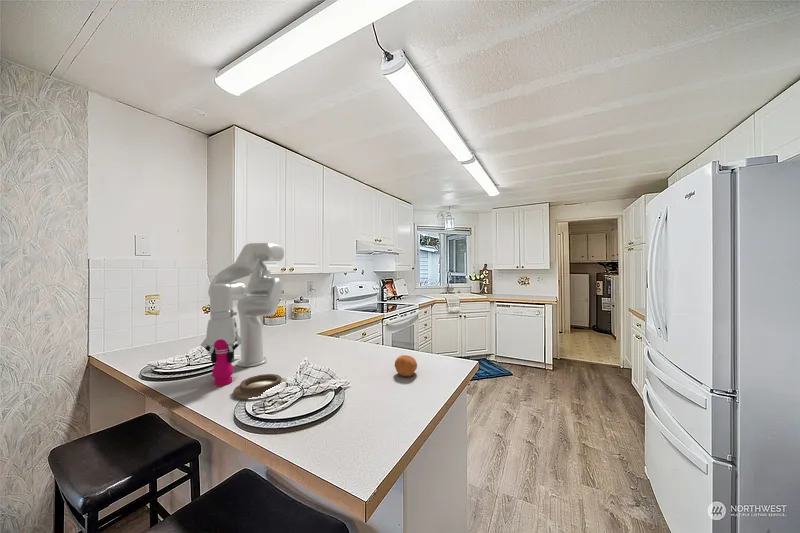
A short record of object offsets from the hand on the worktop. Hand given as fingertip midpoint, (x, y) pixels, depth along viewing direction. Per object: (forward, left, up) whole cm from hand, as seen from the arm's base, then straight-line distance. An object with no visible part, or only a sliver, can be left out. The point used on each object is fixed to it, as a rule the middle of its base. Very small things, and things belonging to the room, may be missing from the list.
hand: (222, 361), depth 117 cm
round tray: (+11, +16, -8) cm, 21 cm away
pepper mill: (0, 0, -9) cm, 9 cm away
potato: (+11, +71, -9) cm, 72 cm away
